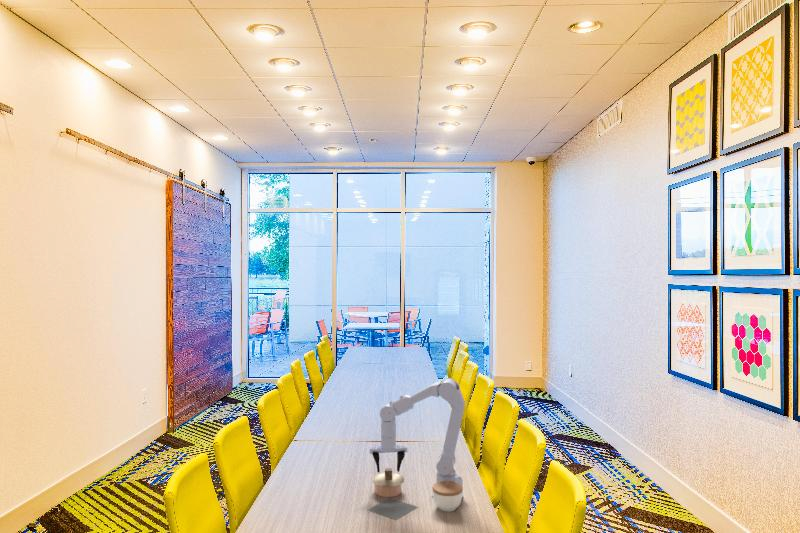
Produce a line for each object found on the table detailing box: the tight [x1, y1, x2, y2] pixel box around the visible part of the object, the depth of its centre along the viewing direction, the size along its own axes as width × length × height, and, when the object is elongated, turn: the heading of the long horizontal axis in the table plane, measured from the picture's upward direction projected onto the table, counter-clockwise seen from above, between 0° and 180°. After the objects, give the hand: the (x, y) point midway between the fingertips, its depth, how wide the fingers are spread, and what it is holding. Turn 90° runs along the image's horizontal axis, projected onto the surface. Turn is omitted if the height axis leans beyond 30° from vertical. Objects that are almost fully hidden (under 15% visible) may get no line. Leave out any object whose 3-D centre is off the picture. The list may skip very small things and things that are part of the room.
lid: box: [372, 467, 405, 487], centre depth 214 cm, size 12×12×4 cm
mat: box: [367, 497, 419, 521], centre depth 199 cm, size 13×13×1 cm
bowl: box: [374, 483, 403, 498], centre depth 215 cm, size 10×10×4 cm
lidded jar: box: [432, 481, 464, 513], centre depth 200 cm, size 11×11×9 cm
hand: (388, 471), depth 215 cm, fingers open, 7 cm apart
